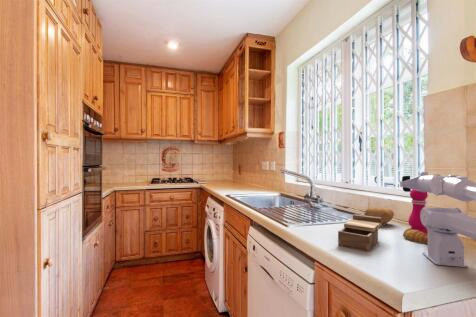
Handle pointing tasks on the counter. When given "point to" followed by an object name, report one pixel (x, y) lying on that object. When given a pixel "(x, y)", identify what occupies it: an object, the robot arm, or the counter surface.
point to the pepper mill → (417, 210)
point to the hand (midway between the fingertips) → (413, 182)
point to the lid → (364, 223)
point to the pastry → (415, 236)
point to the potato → (380, 213)
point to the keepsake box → (357, 239)
